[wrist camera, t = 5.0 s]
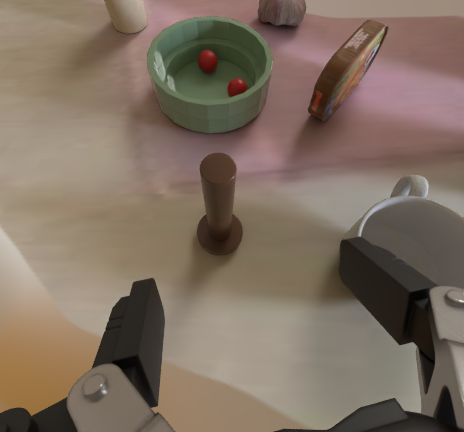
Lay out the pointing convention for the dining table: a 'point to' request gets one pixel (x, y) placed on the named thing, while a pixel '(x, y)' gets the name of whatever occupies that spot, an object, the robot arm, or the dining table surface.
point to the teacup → (417, 231)
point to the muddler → (219, 205)
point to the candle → (127, 15)
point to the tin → (346, 69)
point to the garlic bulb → (282, 11)
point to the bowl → (209, 84)
